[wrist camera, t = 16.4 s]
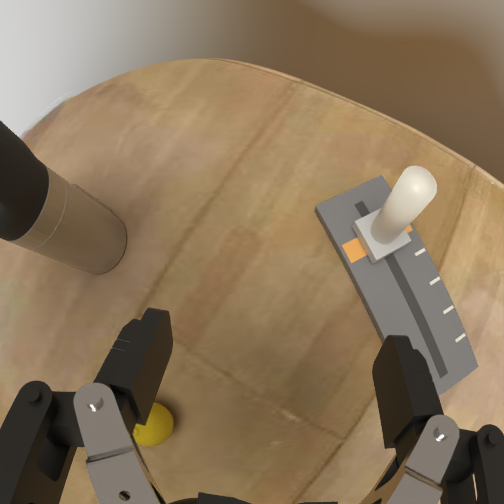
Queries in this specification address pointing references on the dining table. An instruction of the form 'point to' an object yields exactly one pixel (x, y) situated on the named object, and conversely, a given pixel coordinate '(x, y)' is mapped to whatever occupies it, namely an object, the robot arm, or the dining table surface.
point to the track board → (400, 286)
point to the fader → (396, 214)
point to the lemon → (154, 427)
